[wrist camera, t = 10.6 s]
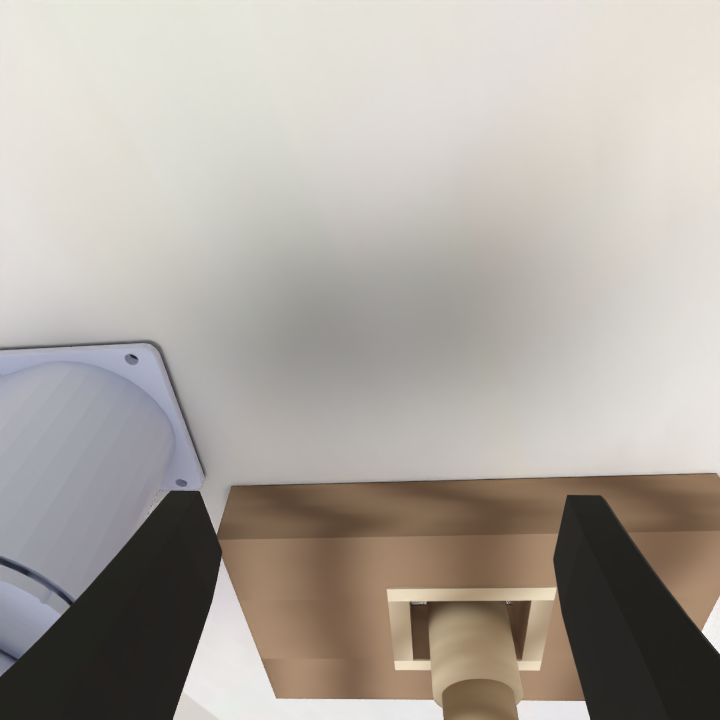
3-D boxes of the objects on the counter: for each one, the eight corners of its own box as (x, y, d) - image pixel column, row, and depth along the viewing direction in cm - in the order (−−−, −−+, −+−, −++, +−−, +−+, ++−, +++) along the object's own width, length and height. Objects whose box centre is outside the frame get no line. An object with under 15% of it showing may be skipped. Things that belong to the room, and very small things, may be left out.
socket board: (284, 647, 35) (276, 700, 32) (231, 486, 26) (214, 541, 24) (644, 647, 33) (666, 703, 30) (716, 473, 24) (754, 532, 22)
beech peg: (421, 594, 31) (433, 790, 23) (428, 551, 28) (444, 753, 21) (493, 598, 31) (527, 795, 23) (506, 554, 28) (548, 758, 21)
